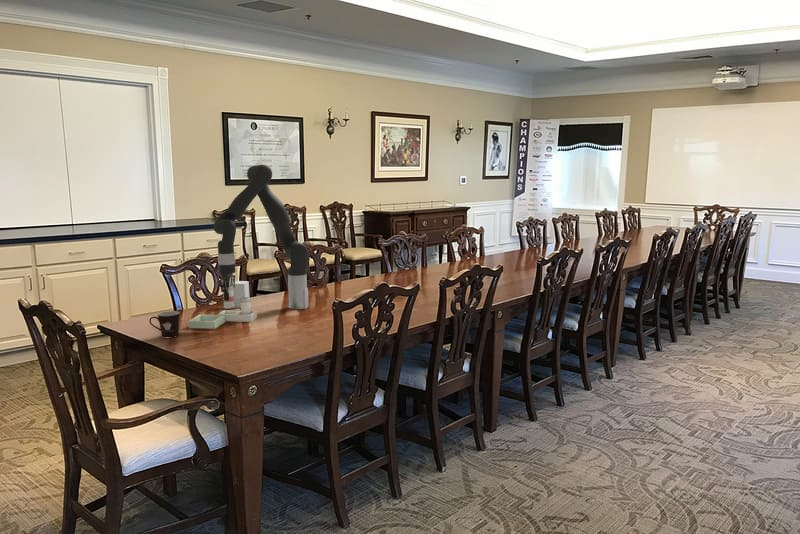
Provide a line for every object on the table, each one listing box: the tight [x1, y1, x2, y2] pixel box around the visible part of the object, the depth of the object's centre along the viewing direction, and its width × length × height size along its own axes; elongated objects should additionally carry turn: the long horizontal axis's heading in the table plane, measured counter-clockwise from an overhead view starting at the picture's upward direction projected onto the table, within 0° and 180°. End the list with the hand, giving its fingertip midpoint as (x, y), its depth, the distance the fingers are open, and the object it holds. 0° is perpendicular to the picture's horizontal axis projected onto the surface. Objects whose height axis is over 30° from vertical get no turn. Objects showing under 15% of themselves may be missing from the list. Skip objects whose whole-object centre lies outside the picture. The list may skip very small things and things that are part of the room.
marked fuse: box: [222, 285, 235, 309], centre depth 286 cm, size 5×5×10 cm
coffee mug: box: [148, 310, 180, 337], centre depth 262 cm, size 12×9×10 cm
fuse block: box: [216, 309, 258, 323], centre depth 287 cm, size 16×8×4 cm, turn 84°
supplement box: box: [233, 280, 250, 309], centre depth 316 cm, size 7×7×13 cm
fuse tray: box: [187, 314, 226, 332], centre depth 277 cm, size 12×12×4 cm
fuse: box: [240, 296, 252, 315], centre depth 286 cm, size 5×5×10 cm
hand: (228, 299), depth 286 cm, fingers closed on marked fuse, 4 cm apart
